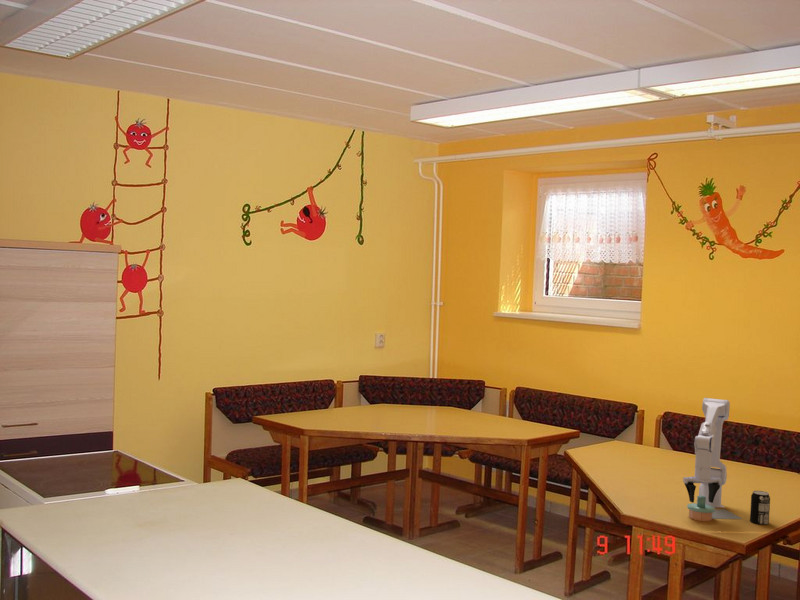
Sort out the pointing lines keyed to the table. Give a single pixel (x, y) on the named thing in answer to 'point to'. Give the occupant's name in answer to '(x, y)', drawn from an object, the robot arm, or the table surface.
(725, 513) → the mat
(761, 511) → the beverage can
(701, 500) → the lid
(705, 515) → the bowl
